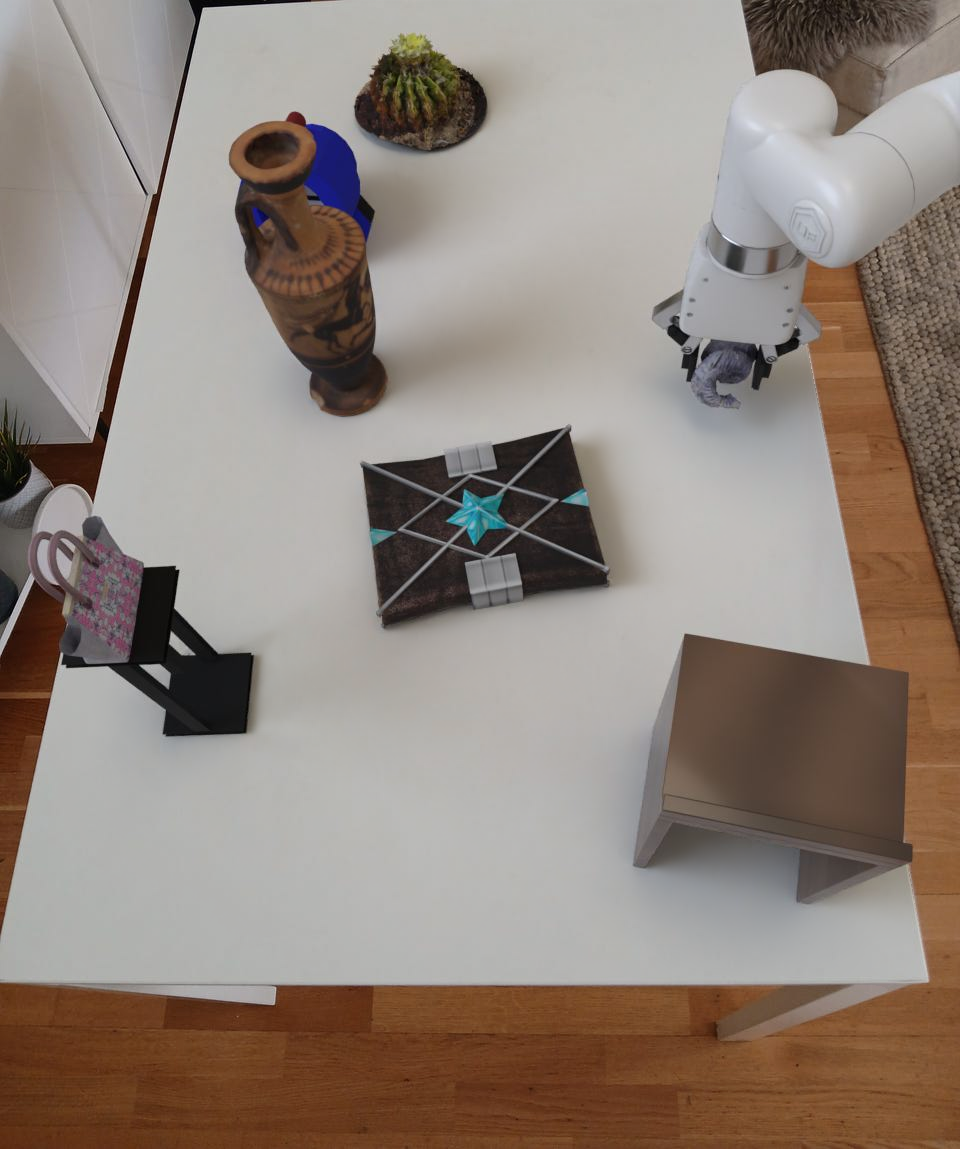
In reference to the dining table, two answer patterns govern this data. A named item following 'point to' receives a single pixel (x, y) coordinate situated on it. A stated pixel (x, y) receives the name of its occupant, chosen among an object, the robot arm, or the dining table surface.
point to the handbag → (142, 633)
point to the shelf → (782, 759)
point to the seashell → (722, 371)
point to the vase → (308, 267)
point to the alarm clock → (331, 177)
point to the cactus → (420, 97)
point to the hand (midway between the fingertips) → (723, 373)
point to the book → (480, 526)
